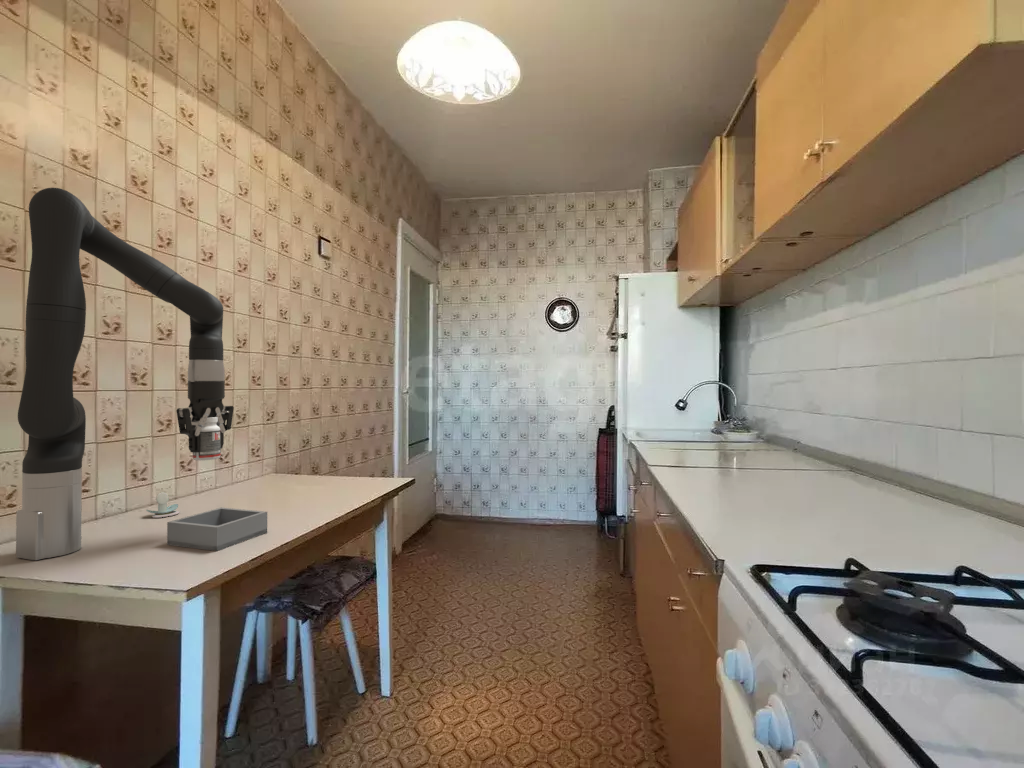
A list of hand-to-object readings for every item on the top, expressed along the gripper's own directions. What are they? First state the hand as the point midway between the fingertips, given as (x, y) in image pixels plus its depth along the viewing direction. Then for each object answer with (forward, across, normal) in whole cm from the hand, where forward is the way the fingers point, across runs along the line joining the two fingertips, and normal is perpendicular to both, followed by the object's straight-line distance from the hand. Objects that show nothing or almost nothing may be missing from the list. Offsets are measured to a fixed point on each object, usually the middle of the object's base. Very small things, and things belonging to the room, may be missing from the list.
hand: (206, 450), depth 119 cm
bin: (+20, +2, +6) cm, 21 cm away
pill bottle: (+2, 0, 0) cm, 2 cm away
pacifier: (+20, -10, -25) cm, 34 cm away
